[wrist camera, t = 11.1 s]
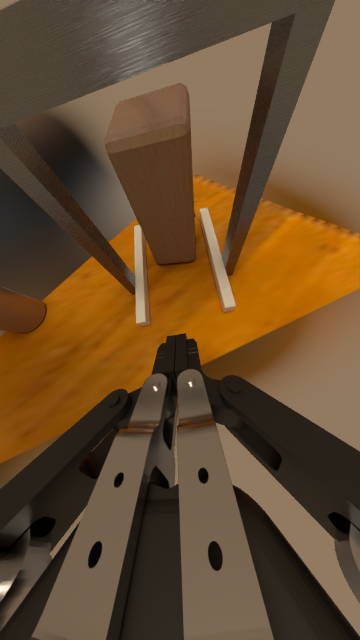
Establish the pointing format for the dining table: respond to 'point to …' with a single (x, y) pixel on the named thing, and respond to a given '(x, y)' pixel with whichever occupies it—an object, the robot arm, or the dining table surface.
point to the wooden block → (157, 168)
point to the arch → (135, 58)
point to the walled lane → (215, 261)
